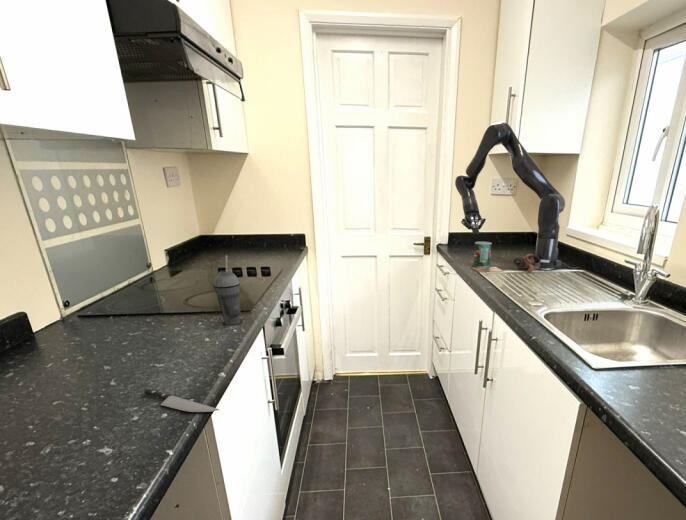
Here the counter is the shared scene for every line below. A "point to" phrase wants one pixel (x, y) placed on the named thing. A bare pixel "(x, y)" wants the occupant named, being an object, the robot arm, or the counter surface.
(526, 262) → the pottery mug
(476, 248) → the canned tomato
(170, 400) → the chef's knife
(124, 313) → the counter surface
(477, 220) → the robot arm
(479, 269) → the trivet
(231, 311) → the beverage cup
